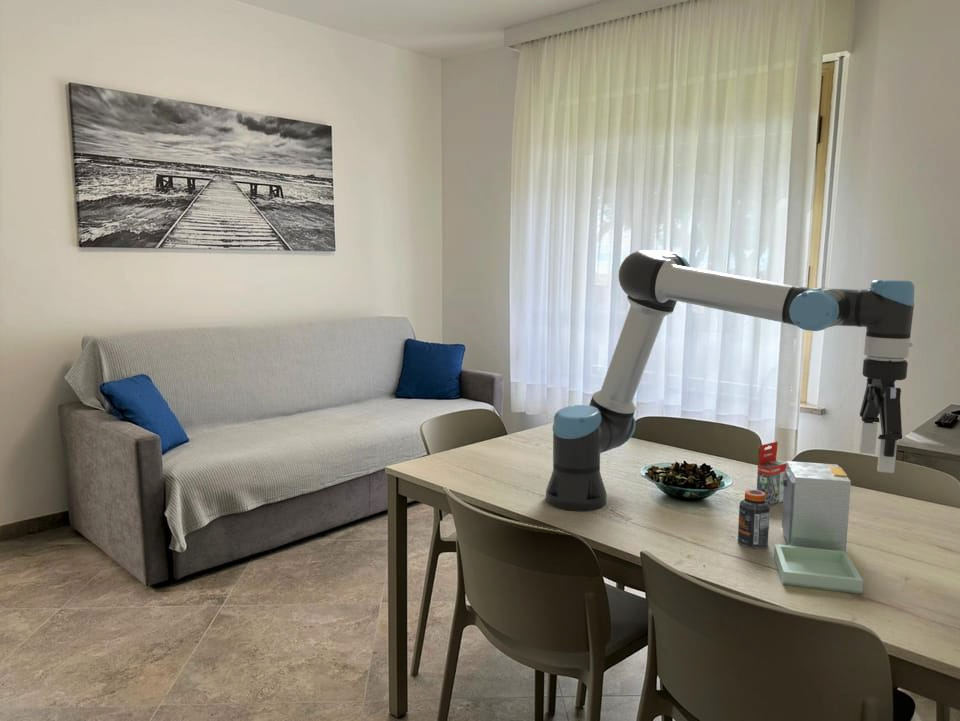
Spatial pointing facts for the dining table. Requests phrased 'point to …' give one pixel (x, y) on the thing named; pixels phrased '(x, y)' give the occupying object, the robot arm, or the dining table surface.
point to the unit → (815, 505)
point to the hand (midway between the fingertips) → (875, 462)
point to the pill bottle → (753, 520)
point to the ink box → (770, 474)
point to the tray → (817, 569)
